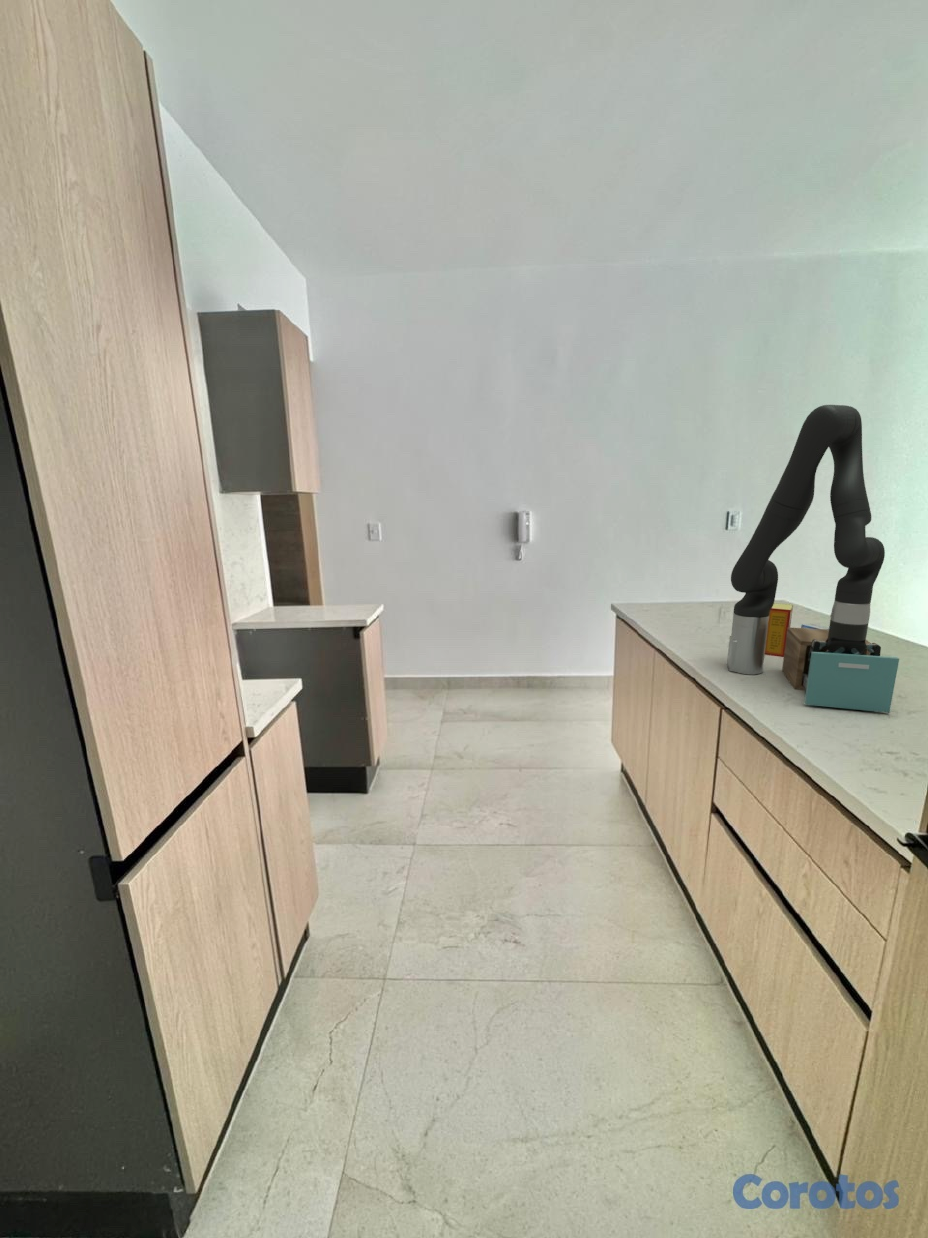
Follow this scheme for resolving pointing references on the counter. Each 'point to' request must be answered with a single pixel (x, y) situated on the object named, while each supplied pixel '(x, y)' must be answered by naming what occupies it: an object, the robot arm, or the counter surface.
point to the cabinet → (802, 653)
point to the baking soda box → (778, 629)
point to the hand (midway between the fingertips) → (839, 681)
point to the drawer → (850, 681)
